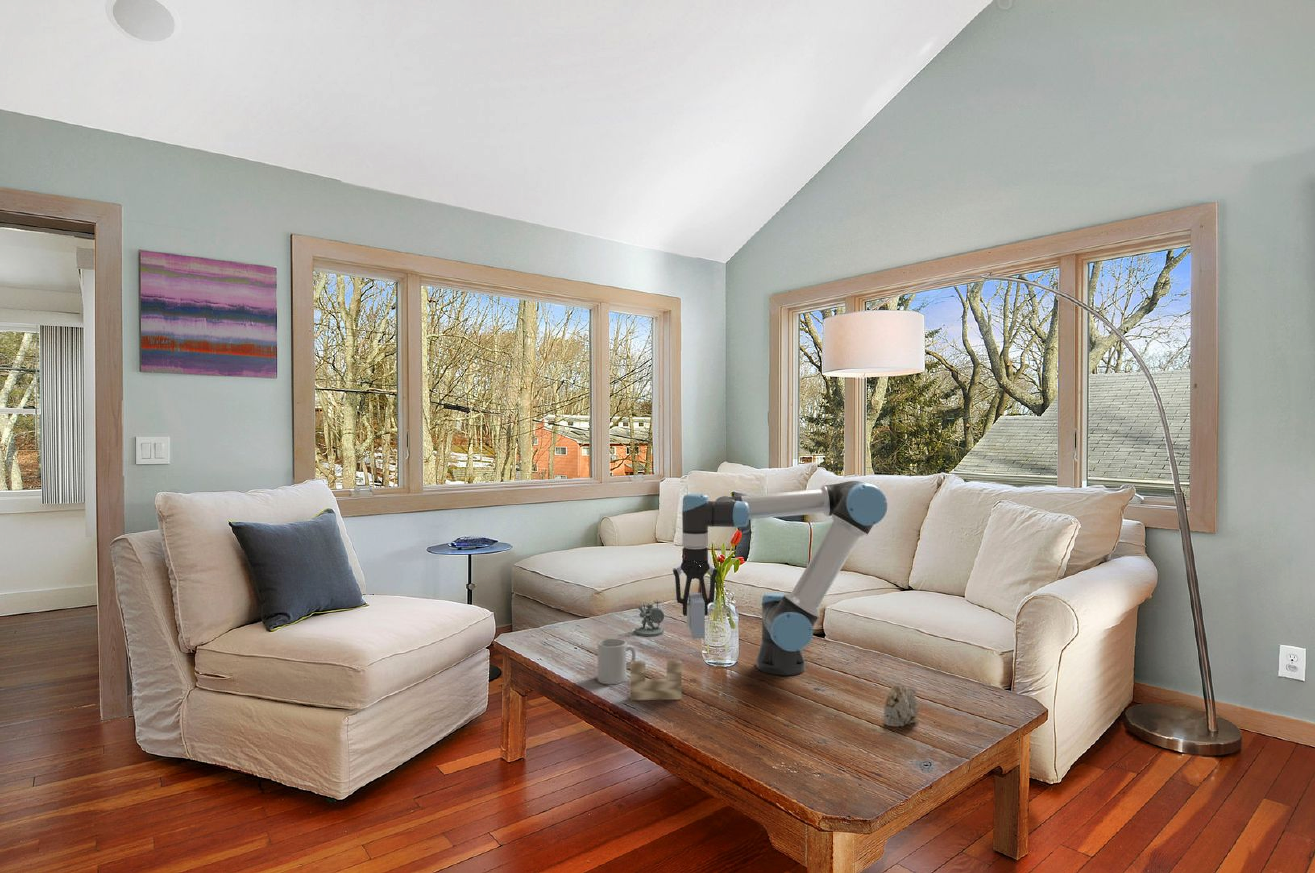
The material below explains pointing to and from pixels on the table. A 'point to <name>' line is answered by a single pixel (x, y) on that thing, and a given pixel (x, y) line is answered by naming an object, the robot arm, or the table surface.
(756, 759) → the table surface
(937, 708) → the table surface
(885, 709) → the rock
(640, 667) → the slot plate fixed
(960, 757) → the table surface
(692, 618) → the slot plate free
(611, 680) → the mug
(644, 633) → the figurine
